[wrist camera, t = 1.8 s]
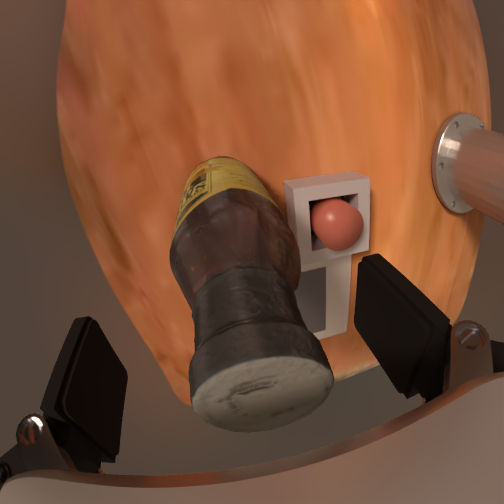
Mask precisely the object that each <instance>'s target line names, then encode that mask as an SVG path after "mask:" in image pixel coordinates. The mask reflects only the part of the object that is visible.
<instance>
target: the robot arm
mask: <svg viewBox="0 0 504 504" xmlns="http://www.w3.org/2000/svg"><path fill="white" fill-rule="evenodd" d="M432 178H433V183H434V188H435V191H436V193H437V196H438V198H439V199H440V201H441V202H442V203H443V205H444V206H445V207H447V208H448V209H450V210H452V211H454V212H456V213H466V212H469V211H471V210H473V209H474V208H475V209H477V210H478V211H480V212H482V213H484V214H486V215H488V216H490V217H491V218H493V219H495V220H497V221H498V222H500V223H502V224H504V134H501V133H497V132H493V131H489V130H488V129H487V128H486V126H485V125H484V123H483V122H482V121H481V120H480V119H479V118H478V117H476V116H475V115H472V114H469V113H457V114H454V115H452V116H451V117H449V118H448V119H447V120H446V121H445V122H444V124H443V125H442V127H441V128H440V131H439V133H438V135H437V137H436V141H435V144H434V149H433V155H432ZM449 322H450V319H449V318H448V317H447V316H446V315H445V314H444V313H443V312H442V311H441V310H440V309H439V308H438V307H437V306H436V305H435V304H433V303H432V302H431V301H430V300H429V299H428V298H427V297H426V296H425V295H424V294H423V293H422V292H421V291H420V290H419V289H418V288H417V287H416V286H415V285H413V284H412V283H411V282H410V281H409V280H408V279H407V278H406V277H405V276H404V275H403V274H401V273H400V272H399V271H398V270H397V269H396V268H395V267H394V266H393V265H391V264H390V263H389V262H388V261H387V260H386V259H385V258H383V257H382V256H381V255H380V254H373V255H369V256H365V257H363V258H362V261H361V262H359V264H358V275H357V290H356V303H355V314H354V324H355V327H356V329H357V331H358V332H359V333H360V335H361V336H362V338H363V339H364V341H365V342H366V344H367V345H368V347H369V348H370V350H371V351H372V353H373V354H374V356H375V357H376V359H377V360H378V362H379V363H380V365H381V366H382V368H383V369H384V371H385V372H386V374H387V375H388V377H389V379H390V380H391V382H392V383H393V385H394V386H395V388H396V389H397V391H398V392H399V393H403V394H404V395H405V396H406V398H407V399H408V398H410V397H412V396H414V395H416V394H418V393H419V394H420V395H421V396H422V405H421V406H420V407H418V408H416V409H414V410H412V411H410V412H408V413H406V414H404V415H401V416H399V417H397V418H395V419H393V420H391V421H389V422H386V423H384V424H382V425H380V426H377V427H375V428H373V429H370V430H368V431H366V432H363V433H361V434H358V435H356V436H353V437H350V438H348V439H345V440H342V441H339V442H337V443H334V444H331V445H328V446H325V447H322V448H318V449H315V450H312V451H309V452H305V453H302V454H298V455H294V456H291V457H287V458H283V459H279V460H274V461H270V462H265V463H261V464H256V465H251V466H246V467H239V468H233V469H227V470H220V471H212V472H202V473H192V474H178V475H156V476H155V475H154V476H153V475H151V476H146V475H145V476H144V475H143V476H142V475H141V476H139V475H138V476H137V475H112V474H105V472H104V471H103V470H102V468H101V462H109V463H115V457H116V455H118V453H119V447H120V436H121V425H122V417H123V409H124V401H125V394H126V387H127V380H128V376H127V371H126V369H125V368H124V366H123V364H122V363H121V361H120V360H119V358H118V356H117V355H116V353H115V352H114V350H113V348H112V347H111V345H110V343H109V342H108V340H107V338H106V337H105V335H104V333H103V331H102V330H101V328H100V326H99V324H98V323H97V321H96V320H93V319H92V318H91V317H89V316H88V317H81V318H76V319H75V320H74V321H73V324H72V326H71V328H70V330H69V333H68V335H67V337H66V339H65V342H64V344H63V347H62V349H61V352H60V354H59V356H58V359H57V361H56V364H55V366H54V369H53V372H52V374H51V377H50V380H49V383H48V386H47V388H46V391H45V394H44V397H43V400H42V404H41V407H40V409H41V410H42V411H43V412H44V413H43V416H41V415H40V414H36V413H33V414H29V415H27V416H25V417H24V418H23V419H22V420H21V422H20V423H19V424H18V427H17V430H16V440H17V444H16V445H15V446H14V447H13V448H12V449H10V450H9V451H8V452H7V453H5V454H4V455H3V456H2V457H0V504H504V343H503V342H497V341H491V340H490V337H489V334H488V332H487V330H486V329H485V328H484V327H483V326H482V325H481V324H479V323H477V322H474V321H471V320H463V321H459V322H457V323H456V324H454V326H453V327H452V326H451V325H450V324H449Z"/></svg>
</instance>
